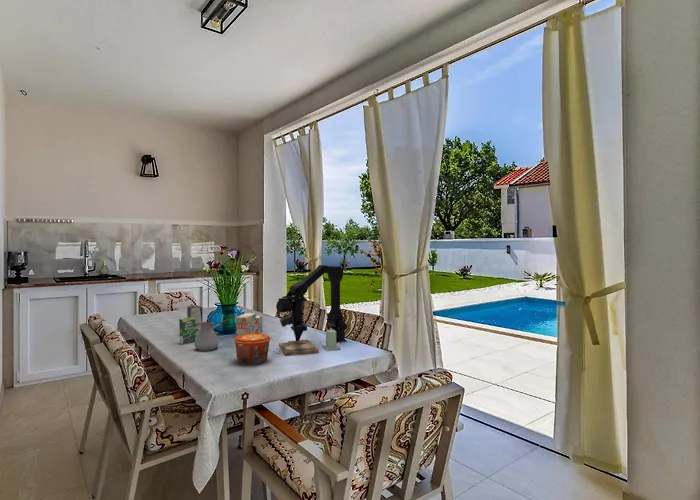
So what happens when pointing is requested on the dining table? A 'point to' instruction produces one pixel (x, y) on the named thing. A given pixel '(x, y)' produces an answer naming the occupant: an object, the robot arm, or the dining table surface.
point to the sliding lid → (298, 345)
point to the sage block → (331, 338)
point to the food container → (252, 348)
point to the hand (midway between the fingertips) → (297, 341)
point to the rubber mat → (330, 348)
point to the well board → (299, 352)
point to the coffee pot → (208, 336)
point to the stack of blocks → (248, 324)
